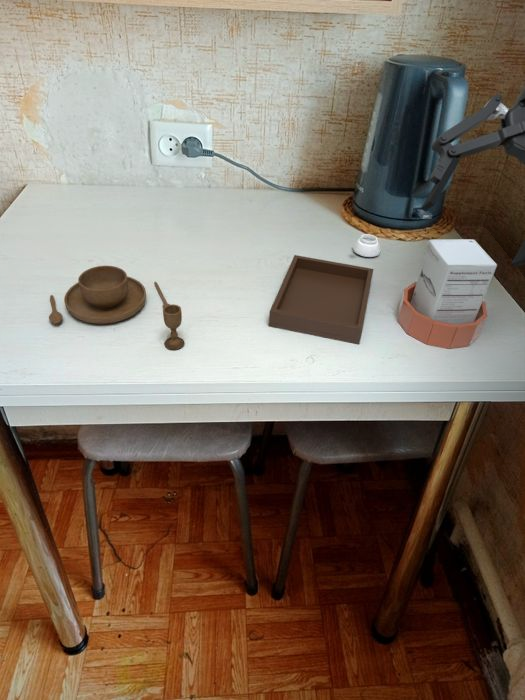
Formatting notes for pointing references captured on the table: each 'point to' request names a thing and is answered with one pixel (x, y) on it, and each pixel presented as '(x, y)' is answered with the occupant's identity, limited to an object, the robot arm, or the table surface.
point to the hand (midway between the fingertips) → (473, 235)
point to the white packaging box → (453, 281)
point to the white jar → (367, 246)
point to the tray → (322, 299)
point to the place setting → (114, 301)
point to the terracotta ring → (438, 325)
